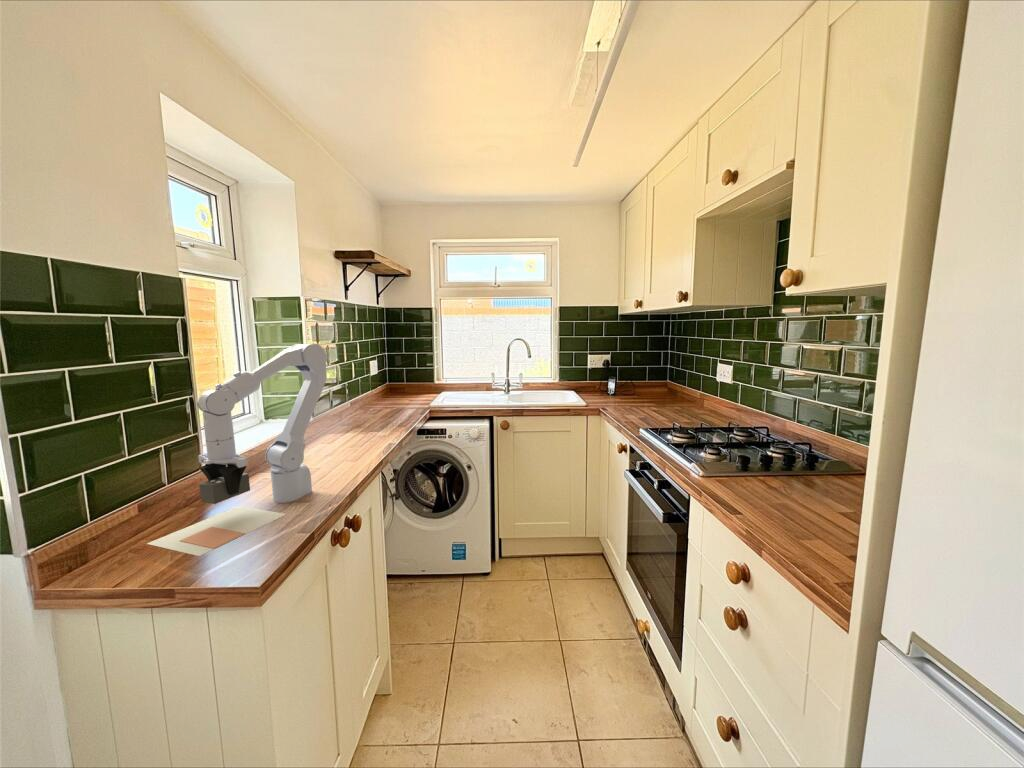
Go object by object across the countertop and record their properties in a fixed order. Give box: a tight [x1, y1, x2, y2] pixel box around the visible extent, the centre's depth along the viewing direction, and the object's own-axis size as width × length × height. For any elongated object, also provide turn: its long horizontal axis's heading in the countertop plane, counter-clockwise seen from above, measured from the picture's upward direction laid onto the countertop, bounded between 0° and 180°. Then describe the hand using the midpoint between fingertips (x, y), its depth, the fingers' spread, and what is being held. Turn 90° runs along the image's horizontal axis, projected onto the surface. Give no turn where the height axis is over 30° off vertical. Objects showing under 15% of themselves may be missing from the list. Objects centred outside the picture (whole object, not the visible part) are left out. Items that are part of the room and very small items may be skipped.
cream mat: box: [146, 505, 287, 557], centre depth 98 cm, size 21×17×1 cm
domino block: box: [199, 472, 251, 505], centre depth 103 cm, size 9×5×5 cm, turn 160°
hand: (226, 492), depth 104 cm, fingers closed on domino block, 5 cm apart
